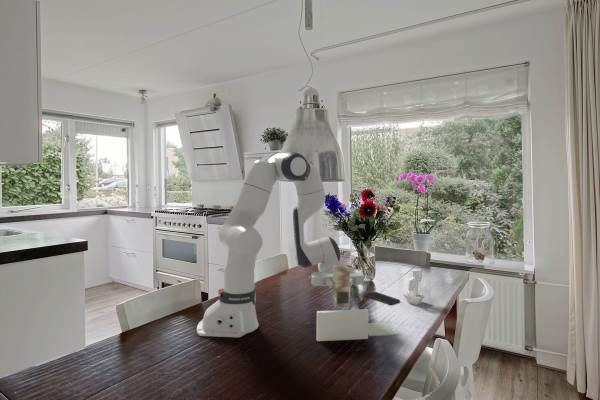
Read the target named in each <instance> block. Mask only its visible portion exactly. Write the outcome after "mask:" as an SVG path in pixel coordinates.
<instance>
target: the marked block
mask: <svg viewBox="0 0 600 400" xmlns="http://www.w3.org/2000/svg"><path fill="white" fill-rule="evenodd" d="M342 265H343V266H333V281H334V282H335V287H332V304H333V305H334V307H335V308H350V287H349V286H350V269H349V268H348V267H347V266H346V265H347V264H342Z"/></svg>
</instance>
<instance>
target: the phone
mask: <svg viewBox="0 0 600 400" xmlns="http://www.w3.org/2000/svg"><path fill="white" fill-rule="evenodd" d="M364 296H365V298H368V299H371V300H373V301H376V302H378V303H382V304H385V305H387V306H393V305H396V304H398V303H400V302H401V301H400V299H399V298H396V297H393V296H390V295H387V294H383V293H381V292H378V291H373V292H369V293H366V294H365V295H364Z"/></svg>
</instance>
